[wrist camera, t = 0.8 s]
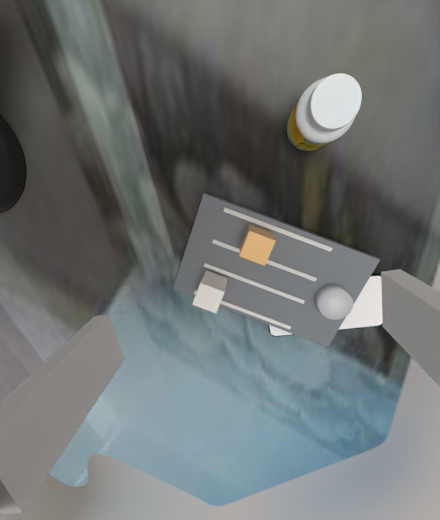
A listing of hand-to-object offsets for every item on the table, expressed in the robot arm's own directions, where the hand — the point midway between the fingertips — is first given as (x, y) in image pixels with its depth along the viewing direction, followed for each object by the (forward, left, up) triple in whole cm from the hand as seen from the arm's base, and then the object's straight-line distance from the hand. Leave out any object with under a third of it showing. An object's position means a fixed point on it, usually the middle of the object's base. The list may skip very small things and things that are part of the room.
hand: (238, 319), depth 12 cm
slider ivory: (-2, -8, -20) cm, 22 cm away
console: (+5, -4, -23) cm, 24 cm away
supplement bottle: (+2, +14, -23) cm, 27 cm away
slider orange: (+1, 0, -20) cm, 20 cm away
